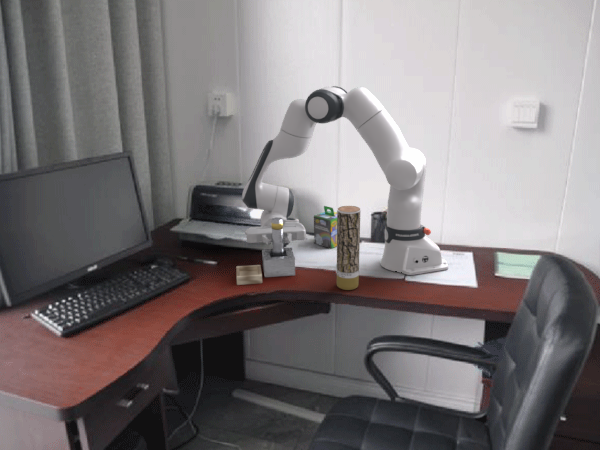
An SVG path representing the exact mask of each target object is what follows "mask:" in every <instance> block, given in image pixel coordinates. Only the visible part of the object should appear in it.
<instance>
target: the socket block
mask: <svg viewBox="0 0 600 450" xmlns="http://www.w3.org/2000/svg"><path fill="white" fill-rule="evenodd" d="M261 253H262V269H263V275H264V278H275V277H290V276H291V277H292V276H296V258H295V254H294V251H293V248H292V247H283V253H284V256H282V257H273V249H272V248H262V249H261Z"/></svg>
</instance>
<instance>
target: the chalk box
mask: <svg viewBox="0 0 600 450" xmlns="http://www.w3.org/2000/svg"><path fill="white" fill-rule="evenodd" d="M323 210H324V212H320V213H316V214H314V215H313V232H314V233H313V234H314V235H313V241H314V244H316V245H318V246H320V247H321V246H322V247H324V248H326V249H327V248H328V249H333V248H337V211H334V207H330V206H327V205H324V206H323Z"/></svg>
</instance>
